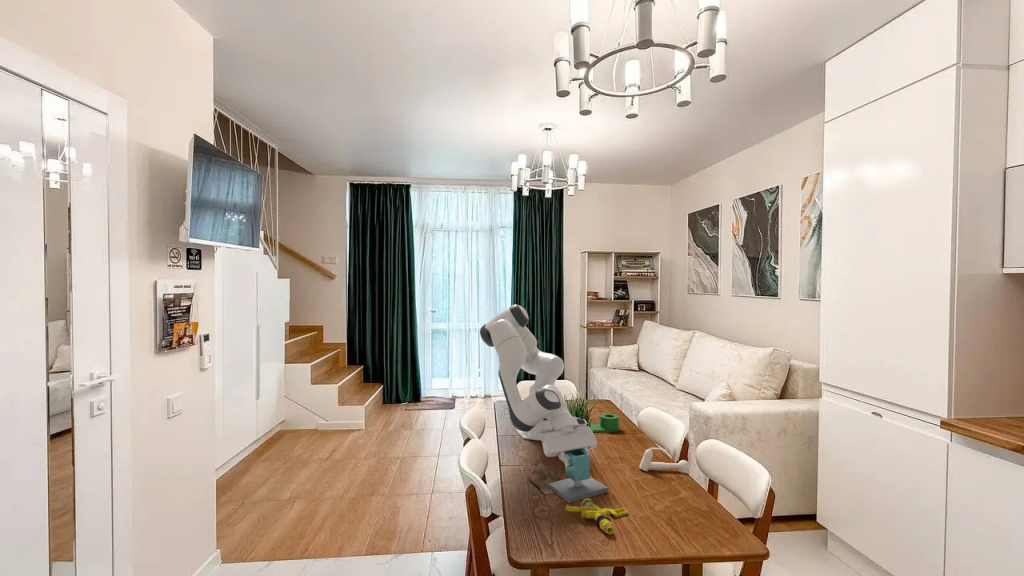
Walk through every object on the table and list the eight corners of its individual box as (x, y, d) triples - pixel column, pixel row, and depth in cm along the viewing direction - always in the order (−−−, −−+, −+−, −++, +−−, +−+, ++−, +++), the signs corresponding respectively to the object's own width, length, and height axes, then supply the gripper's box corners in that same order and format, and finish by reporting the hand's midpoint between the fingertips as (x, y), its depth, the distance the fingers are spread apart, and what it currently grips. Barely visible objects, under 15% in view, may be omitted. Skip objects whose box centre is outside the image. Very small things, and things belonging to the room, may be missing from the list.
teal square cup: (565, 474, 146) (565, 451, 146) (579, 471, 148) (579, 448, 148) (574, 481, 140) (574, 457, 140) (589, 478, 143) (589, 454, 143)
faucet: (686, 486, 157) (695, 461, 157) (640, 469, 158) (649, 444, 158) (682, 481, 161) (691, 457, 161) (638, 465, 162) (646, 440, 162)
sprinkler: (584, 524, 115) (562, 496, 129) (582, 538, 115) (560, 510, 129) (645, 522, 121) (617, 496, 135) (643, 536, 121) (616, 509, 135)
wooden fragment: (563, 496, 140) (563, 493, 140) (529, 496, 141) (529, 492, 141) (556, 464, 166) (556, 461, 166) (528, 464, 166) (528, 461, 166)
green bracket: (615, 425, 213) (615, 413, 213) (621, 431, 204) (621, 418, 205) (580, 427, 211) (580, 414, 211) (585, 433, 202) (585, 419, 202)
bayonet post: (548, 487, 146) (548, 465, 146) (585, 478, 153) (585, 457, 153) (569, 503, 135) (569, 479, 135) (607, 491, 143) (607, 469, 143)
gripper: (540, 426, 146) (555, 465, 137) (590, 419, 155) (606, 455, 146) (534, 435, 150) (548, 473, 141) (583, 427, 159) (598, 463, 150)
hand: (578, 464), depth 144 cm, fingers closed on teal square cup, 6 cm apart
